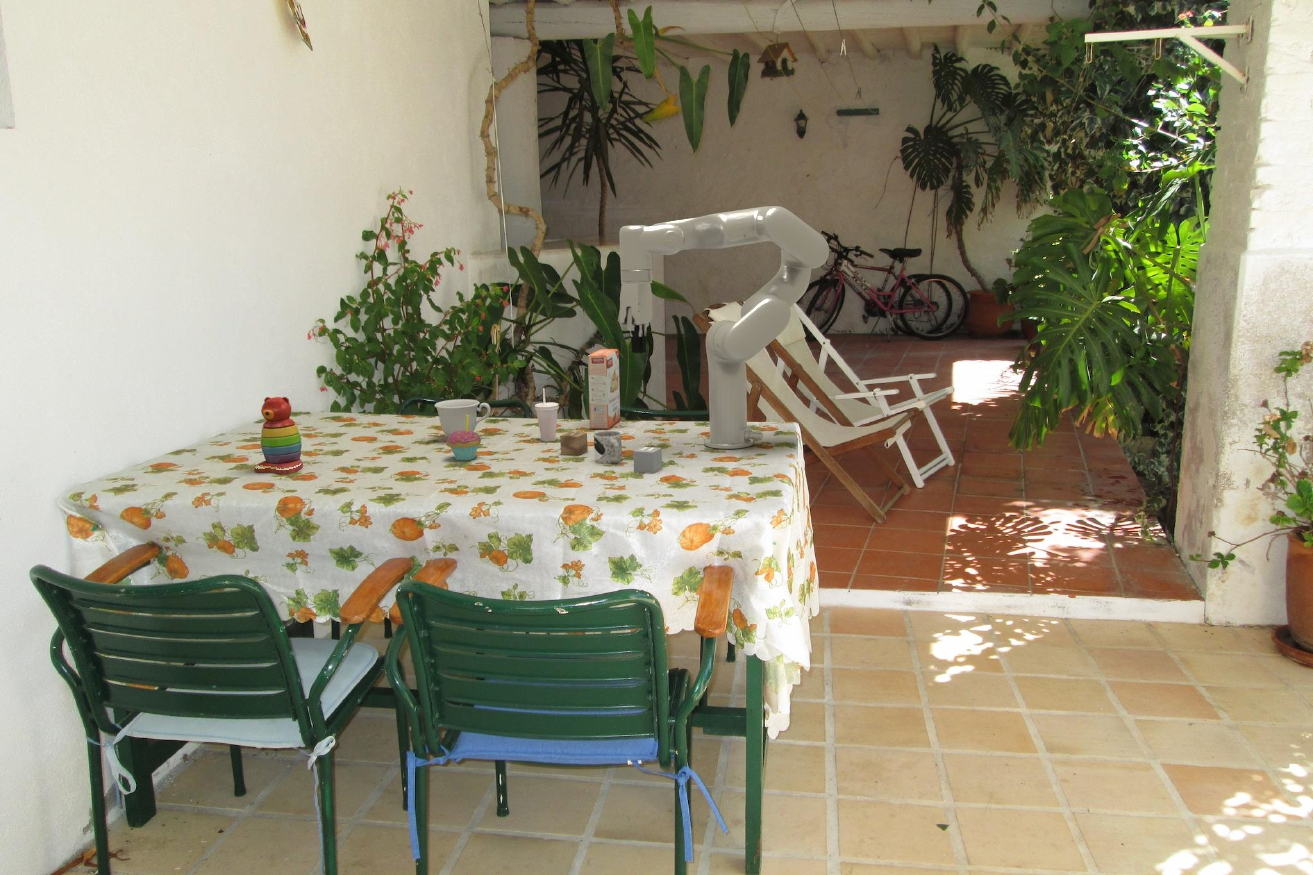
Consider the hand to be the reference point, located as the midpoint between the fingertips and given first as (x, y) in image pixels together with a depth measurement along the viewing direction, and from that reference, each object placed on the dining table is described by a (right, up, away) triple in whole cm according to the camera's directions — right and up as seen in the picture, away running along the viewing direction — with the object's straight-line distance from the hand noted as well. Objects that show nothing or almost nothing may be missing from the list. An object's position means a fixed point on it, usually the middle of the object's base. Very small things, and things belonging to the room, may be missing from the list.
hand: (639, 352), depth 258 cm
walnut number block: (-16, -25, +6) cm, 30 cm away
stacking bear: (-87, -29, -1) cm, 92 cm away
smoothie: (-24, -22, +22) cm, 40 cm away
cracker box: (-10, -17, +41) cm, 45 cm away
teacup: (-48, -22, +27) cm, 59 cm away
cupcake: (-43, -26, +4) cm, 51 cm away
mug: (-7, -27, -4) cm, 28 cm away
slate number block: (+2, -29, -13) cm, 32 cm away
